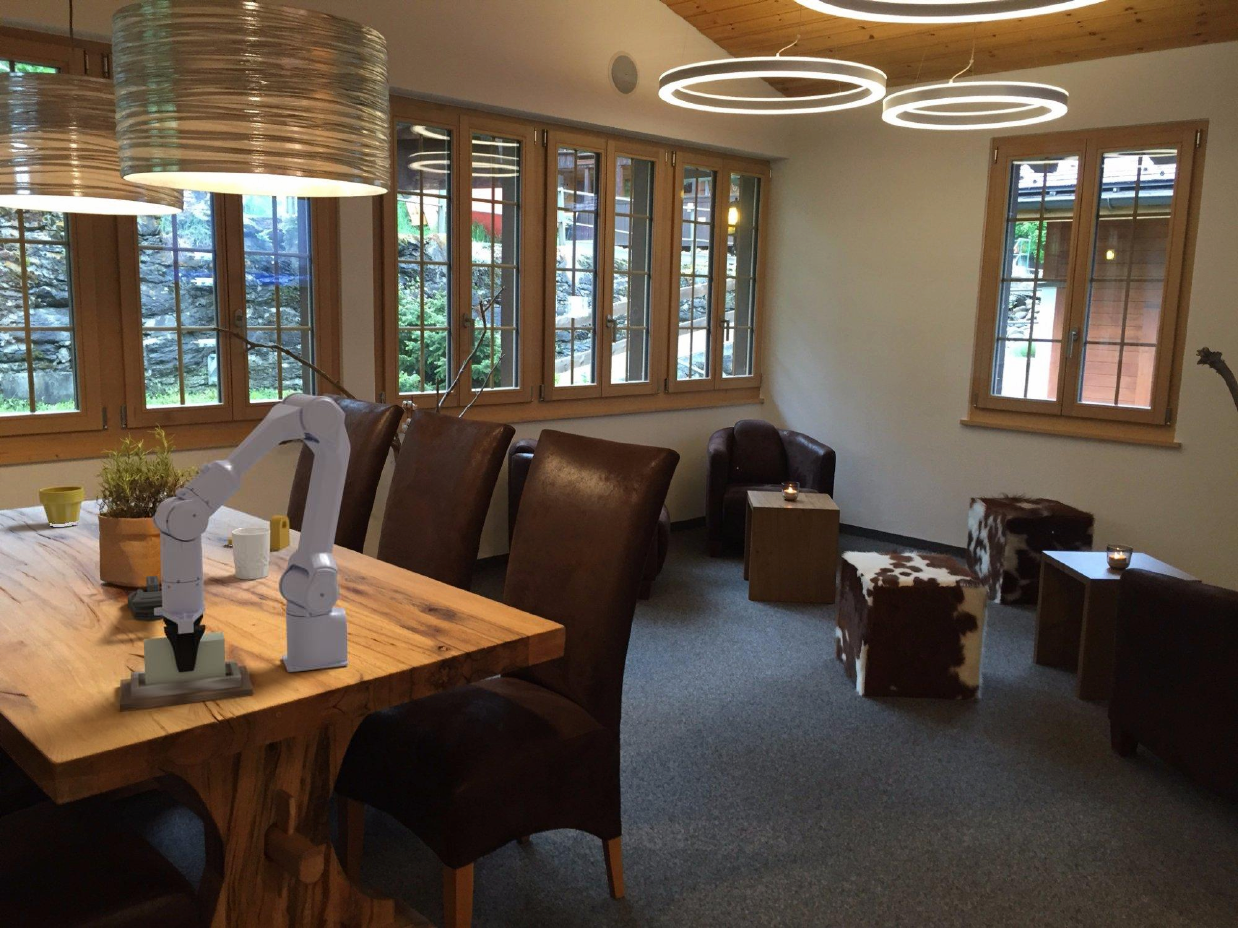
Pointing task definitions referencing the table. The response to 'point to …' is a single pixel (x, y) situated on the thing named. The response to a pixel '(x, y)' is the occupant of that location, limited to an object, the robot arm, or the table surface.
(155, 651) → the pale green block
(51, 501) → the plant pot
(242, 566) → the white cup
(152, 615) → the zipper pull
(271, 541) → the bracket
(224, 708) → the table surface
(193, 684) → the plate
